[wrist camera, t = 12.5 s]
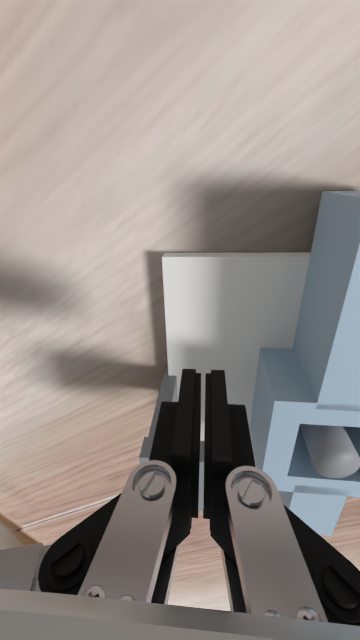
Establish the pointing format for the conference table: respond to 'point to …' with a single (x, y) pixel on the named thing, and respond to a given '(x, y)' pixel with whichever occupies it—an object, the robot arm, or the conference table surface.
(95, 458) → the conference table surface
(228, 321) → the board
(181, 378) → the robot arm
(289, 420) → the link
